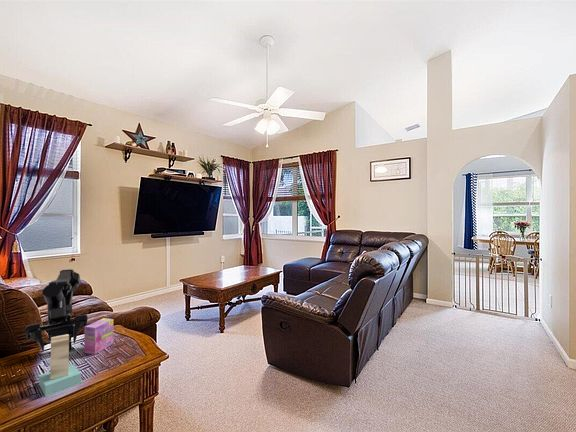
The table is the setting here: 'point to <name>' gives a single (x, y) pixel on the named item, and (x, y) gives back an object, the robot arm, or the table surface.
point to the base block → (59, 381)
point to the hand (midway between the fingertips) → (59, 346)
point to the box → (98, 335)
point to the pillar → (59, 356)
